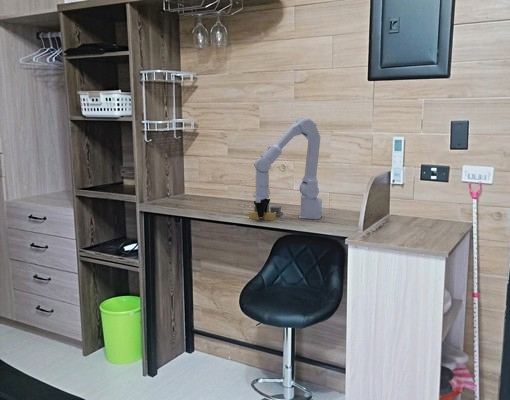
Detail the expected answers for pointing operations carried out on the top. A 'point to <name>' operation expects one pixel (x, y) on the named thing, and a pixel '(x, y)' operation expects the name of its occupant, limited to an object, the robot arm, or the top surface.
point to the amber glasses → (266, 216)
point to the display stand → (273, 210)
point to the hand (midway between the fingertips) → (262, 216)
